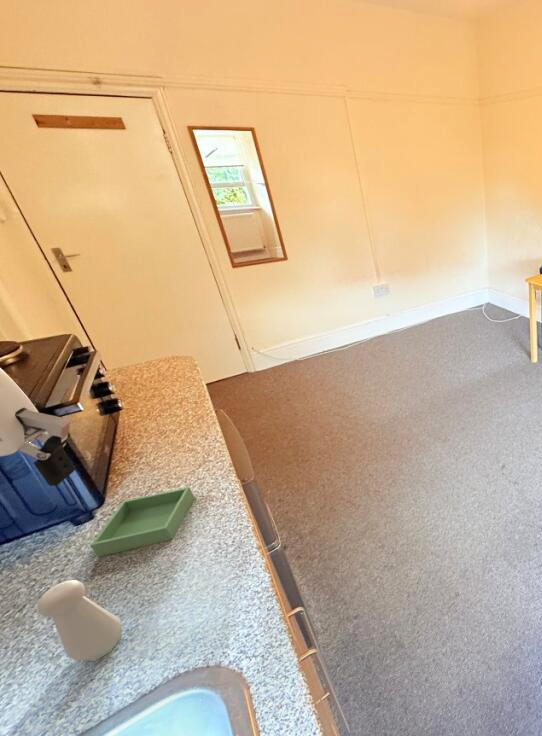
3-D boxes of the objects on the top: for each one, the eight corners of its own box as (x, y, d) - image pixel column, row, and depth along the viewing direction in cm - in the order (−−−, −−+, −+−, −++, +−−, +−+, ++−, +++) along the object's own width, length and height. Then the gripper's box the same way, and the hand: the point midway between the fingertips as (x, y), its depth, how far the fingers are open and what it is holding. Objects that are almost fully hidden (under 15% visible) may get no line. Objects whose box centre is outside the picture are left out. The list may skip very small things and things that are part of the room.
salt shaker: (89, 634, 61) (43, 579, 55) (134, 620, 62) (95, 565, 57) (66, 675, 56) (13, 620, 50) (116, 658, 58) (71, 603, 52)
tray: (97, 557, 73) (89, 545, 72) (129, 511, 83) (123, 500, 81) (172, 539, 76) (166, 528, 75) (194, 497, 86) (189, 486, 84)
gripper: (-219, 390, 38) (-97, 516, 46) (-10, 372, 41) (73, 495, 48) (-121, 357, 45) (-29, 472, 52) (52, 343, 48) (117, 455, 55)
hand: (20, 483), depth 50 cm, fingers open, 9 cm apart
